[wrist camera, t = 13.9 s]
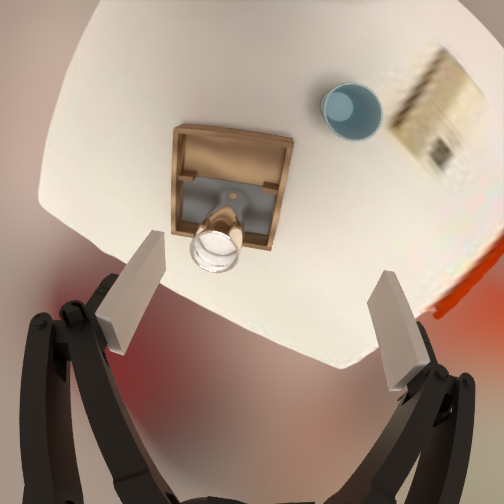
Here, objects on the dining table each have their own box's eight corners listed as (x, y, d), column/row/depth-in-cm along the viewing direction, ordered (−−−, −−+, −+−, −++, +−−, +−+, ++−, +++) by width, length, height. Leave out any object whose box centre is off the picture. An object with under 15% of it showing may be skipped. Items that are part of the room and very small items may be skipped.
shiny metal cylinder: (206, 211, 49) (181, 260, 36) (221, 179, 45) (198, 220, 32) (241, 228, 50) (227, 281, 38) (258, 197, 46) (249, 244, 34)
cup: (304, 114, 38) (313, 121, 29) (326, 75, 34) (341, 71, 25) (345, 137, 39) (364, 152, 31) (367, 99, 35) (392, 104, 26)
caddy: (183, 124, 40) (173, 128, 37) (292, 138, 40) (293, 143, 37) (179, 222, 51) (171, 234, 47) (271, 237, 51) (270, 251, 48)
